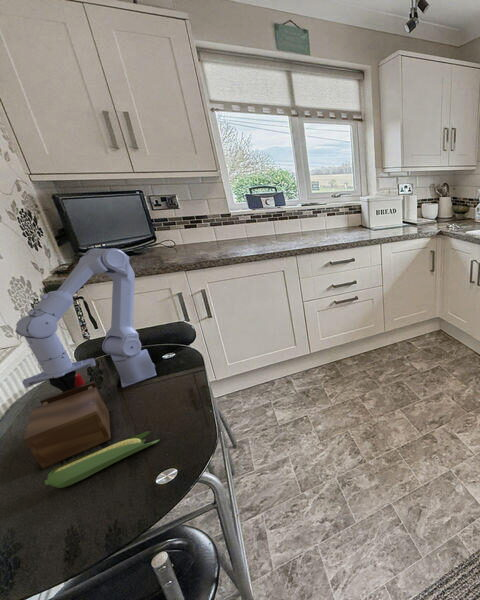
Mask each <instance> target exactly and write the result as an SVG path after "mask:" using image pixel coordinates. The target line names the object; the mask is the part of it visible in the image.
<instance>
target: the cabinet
mask: <svg viewBox="0 0 480 600" xmlns="http://www.w3.org/2000/svg"><path fill="white" fill-rule="evenodd" d="M110 421H111V420H110V412H109V410H108V408H107V406H106V404H105V403H104V402H103V400H102V398H101V396H100V394H99V392H98V390H97V388H96V387H94V388H91V389H88V390H86V391H83V392H80V393H77V394H74V395H71V396H69V397H66V398H63V399H60V400H57V401H54V402H52V403H49V404H46V405H43V406H42V405H41V406H38V407H35V408H32V409H31V412H30V415H29V419H28V423H27V426H26V430H25V432H24V436H23V441H24V442H25V444H26V446H27V447H28V449H29V450H30V452H31V454H32V455H33V456H34V457H35V459H36V461H37V462H38V464H39V465H40V468H42V469H45V468H48V467H50V466H53V465H55V464H57V463H59V462H62V461H65V460H67V459H69V458H71V457H73V456H76V455H78V454H81V453H83V452H85V451H87V450H90V449H92V448H94V447H96V446H98V445H99V446H100V445H101V444H103V443H106V442H108V441H110V440H111V439H112V438H111V423H110Z"/></svg>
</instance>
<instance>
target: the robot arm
mask: <svg viewBox="0 0 480 600" xmlns="http://www.w3.org/2000/svg"><path fill="white" fill-rule="evenodd" d="M102 273H104V274H105V275H107V276H108V277H109V278H111V280H112V294H111V297H112V298H111V321H110V328H109V329H108V330H107V331H106V333H105V338H104V340H103V342H102V344H101V349H102V351H103V352H104V353H105V354H107V355H110V357H111V360H112V362H113V365H114V367H115V369H116V372H117V373H118V375H119V377H120V385H121V388H126V387H130V386H132V385H134V384H137V383H140V382H142V381H146V380H147V379H151V378H154V377H156V376H157V371H156V365H155V363H153V361H152V359H151V356H150V354H149V351H148V349H147V348H146V349H145V348H144V349H142V342H141V340H140V334H139V332H138V331H137V330H136V329H135V328H134V313H135V311H134V310H135V287H136V286H135V285H136V284H135V283H136V274H135V271H134V269H133V267H132V265H131V264H130V256H129V255H128V254H126V252H124V251H123V250H121V249H120V248H116V247H112V248H97V247H96V248H94V247H93V248H90V249H88V250H87V251H86V252H85V255H82V256H81V257H80V258H79V260H78V263H77V264H76V265H75V267H74V268H73V270H72V271H71V272H70V273H69V275H68V276H67V277H66V279H65V280H64V281H63V282H62V284H61V285H60V287H58V289H56V290H52V291H48V292H47V293H43V294H42V295H41V296H40V297H39V298H40V299H41V300H40V301H39V302H38V303H37V304H36V305H35V306H34V308H33V309H32V310H28V311H27V312H26V313H27V315H26V316H24V317H22V318H21V317H20V319H18V321H17V322H16V325H15V330H14V332H15V334H17V335H18V336H20V337H23V338H24V339H25V340H26V343H27V344H28V346H29V349H30V350H31V352H32V354H33V355H34V357H35V359H36V360H37V363H38V364H39V366H40V367H41V369H42V371H43V372H40V373H37V374H35V375H33V376H30V377H27V378H24V379H22V382H21V383H22V385H23V386H24V388H25V389H29V388H32V386H34V385H38V384H41V383H43V382H47V381H49V385H50V386H52V387H54V388H56V389H58V390H60V391H61V392H64V391H66V390H69V389H72V388H75V377H76V373H77V371H81V370H84V369H87V368H93V367H96V366H97V363H96V361H95V359H94V357H91V358H87V359H83V360H78V361H74V362H72V360H71V358H70V356H69V354H68V352H67V350H66V349H65V346H64V345H63V343H62V341H61V339H60V337H59V335H58V334H57V331H58V329H59V325H58V322H59V321H60V320H61V319H62V318H63V316H64V315H65V314H66V312H67V311H68V310H70V308H71V307H72V305H74V302H75V301H74V298H73V296H74V295H75V294H76V293H77V292H78V291H79V290H80V289H81V288H82V287H83V286H84V285H85V284H86V283H87V282H88V280H89V279H90V278H92V276H94V275H97V274H102Z"/></svg>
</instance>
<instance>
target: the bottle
mask: <svg viewBox="0 0 480 600" xmlns="http://www.w3.org/2000/svg"><path fill="white" fill-rule="evenodd" d="M84 384H86V382H85V381H84V379H83V377H82V375H81V373H80V372H76V377H75V387H78V386H81V385H84Z"/></svg>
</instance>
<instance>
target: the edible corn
mask: <svg viewBox="0 0 480 600" xmlns="http://www.w3.org/2000/svg"><path fill="white" fill-rule="evenodd" d="M151 432H152V430H150V431H144V432H142V433H139V434H137V435H134V436H131V437H129V438H126V439H123V440H121V441H118V442H115V443H113V444H110V445H107V446H105V447H102V448H100V449H97V450H95V451H92V452H90V453H89V452H88V453H87V454H85V455H82V456H79V457H77V458H75V459H72V460H69V461H67V462H64V463H63V464H61V465H58V466H57V467H55V468H54V469H52V470H51V471H50V472H49V473H48V474H47V478H46V479H44V484H45V485H46V486H51V487H53V488H56V489H63V488H67V487H70V486H72V485H75V484H76V483H79V482H81V481H83V480H84V479H87V478H89V477H91V476H92V475H95V474H96V473H99V472H100V471H102V470H105V469H106V468H108V467H110V466H112V465H114V464H116V463H118V462H120V461H122V460H124V459H126V458H128V457H129V456H132V455H134V454H135V453H138V452H140V451H142V450H144V449H147V448H148V447H150V446H153V445H155V444H157V443H158V442H160V441H161V439H155V440H153V441H150V442H147V443H145V442H146V439H144V438H145V437H146V436H148V435H149V434H150V433H151Z"/></svg>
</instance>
